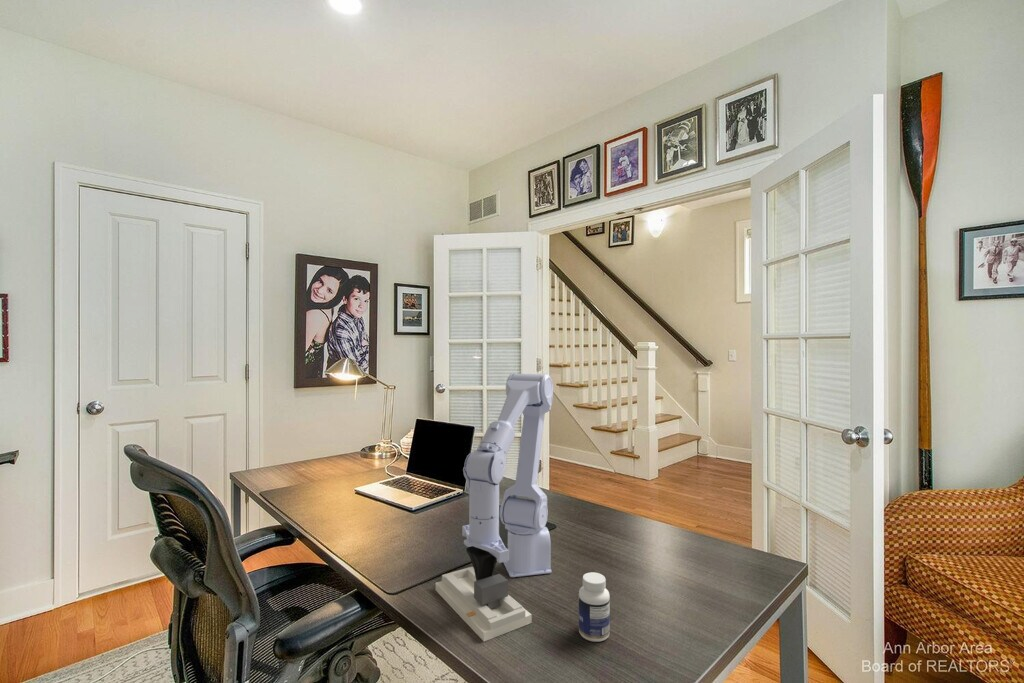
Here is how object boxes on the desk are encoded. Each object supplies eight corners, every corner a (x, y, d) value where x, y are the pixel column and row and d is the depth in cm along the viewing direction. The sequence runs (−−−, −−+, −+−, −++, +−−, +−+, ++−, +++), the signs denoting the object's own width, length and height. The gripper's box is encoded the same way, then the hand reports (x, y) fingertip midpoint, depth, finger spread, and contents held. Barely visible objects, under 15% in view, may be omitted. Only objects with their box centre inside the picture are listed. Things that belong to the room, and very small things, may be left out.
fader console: (435, 590, 96) (435, 575, 96) (478, 577, 102) (478, 563, 102) (483, 641, 80) (483, 623, 80) (531, 622, 85) (531, 606, 85)
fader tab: (473, 606, 87) (474, 581, 87) (499, 597, 90) (499, 573, 90) (481, 614, 85) (482, 588, 85) (507, 604, 88) (508, 580, 88)
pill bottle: (575, 624, 85) (575, 570, 85) (604, 623, 85) (604, 569, 85) (582, 643, 79) (582, 585, 79) (613, 642, 80) (613, 584, 80)
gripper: (448, 507, 94) (448, 575, 94) (484, 531, 82) (484, 609, 81) (479, 500, 98) (479, 566, 97) (518, 523, 85) (518, 597, 85)
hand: (483, 585), depth 90 cm, fingers closed
